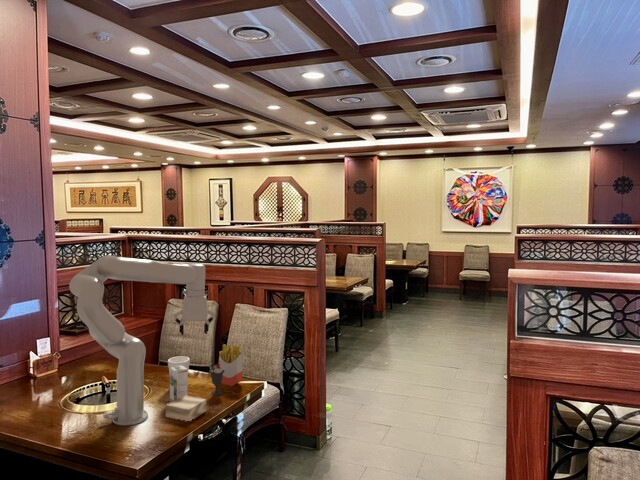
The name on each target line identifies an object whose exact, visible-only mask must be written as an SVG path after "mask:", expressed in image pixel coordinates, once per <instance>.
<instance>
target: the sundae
mask: <svg viewBox="0 0 640 480" xmlns="http://www.w3.org/2000/svg"><path fill="white" fill-rule="evenodd" d="M219 362H220V361H219V360H218V362H217V364H213V367H212V369H210V370H209V371H208V372H209V374H210V377H211V382H212V384H213V386H214V387H215V389H214V391H212V392H211V393H210V395H211V396H220V395H223V391H222V390H219V386H220V385H221V384H222V376H223V373H224V372H225V370H223V369H222V368H221V366H220V364H219Z"/></svg>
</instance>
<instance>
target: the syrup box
mask: <svg viewBox="0 0 640 480" xmlns="http://www.w3.org/2000/svg"><path fill="white" fill-rule="evenodd" d="M188 375H189V370H188V369H187V368H185V367H184V366H175V367H171V368H170V373H169V402H170V401H171V402H172V401H174V400H176V399H177V398H179V397H181V396H183V395H187V396H188V381H189V380H188V379H189V377H188Z"/></svg>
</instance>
